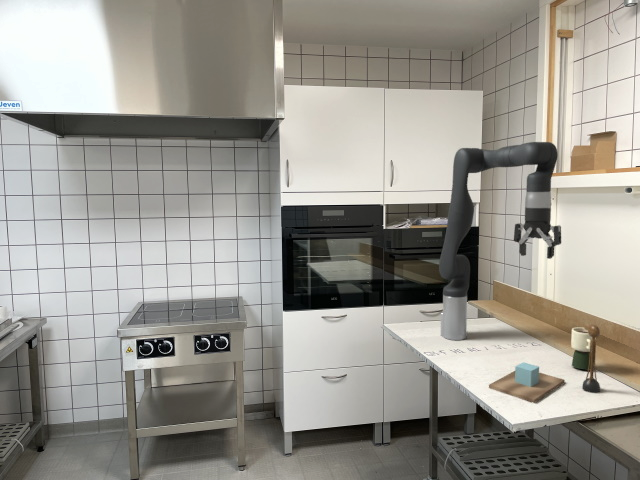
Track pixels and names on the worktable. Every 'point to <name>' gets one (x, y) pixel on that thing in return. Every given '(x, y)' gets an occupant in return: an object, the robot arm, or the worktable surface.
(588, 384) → the wooden tabletop sculpture
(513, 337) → the worktable surface
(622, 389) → the worktable surface
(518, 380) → the teal cube
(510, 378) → the walnut board
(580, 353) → the character mug
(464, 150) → the robot arm
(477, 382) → the worktable surface
